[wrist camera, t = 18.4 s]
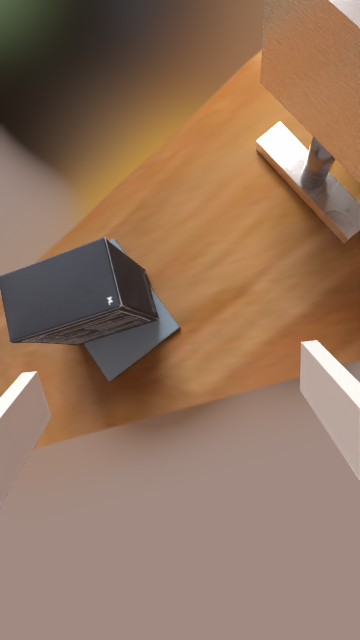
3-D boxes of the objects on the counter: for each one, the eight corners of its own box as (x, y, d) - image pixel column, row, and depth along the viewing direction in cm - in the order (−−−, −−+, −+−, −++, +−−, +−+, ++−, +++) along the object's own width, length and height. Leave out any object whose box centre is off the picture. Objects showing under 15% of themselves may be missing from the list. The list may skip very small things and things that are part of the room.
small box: (145, 264, 36) (105, 231, 25) (160, 320, 35) (125, 308, 24) (62, 293, 37) (-6, 273, 27) (74, 346, 36) (8, 346, 26)
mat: (115, 239, 37) (113, 238, 37) (180, 327, 35) (179, 326, 34) (51, 292, 38) (49, 291, 38) (110, 381, 36) (108, 381, 35)
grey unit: (282, 127, 34) (322, -102, 17) (373, 221, 32) (531, 65, 14) (256, 149, 35) (268, -53, 17) (343, 243, 32) (462, 118, 15)
